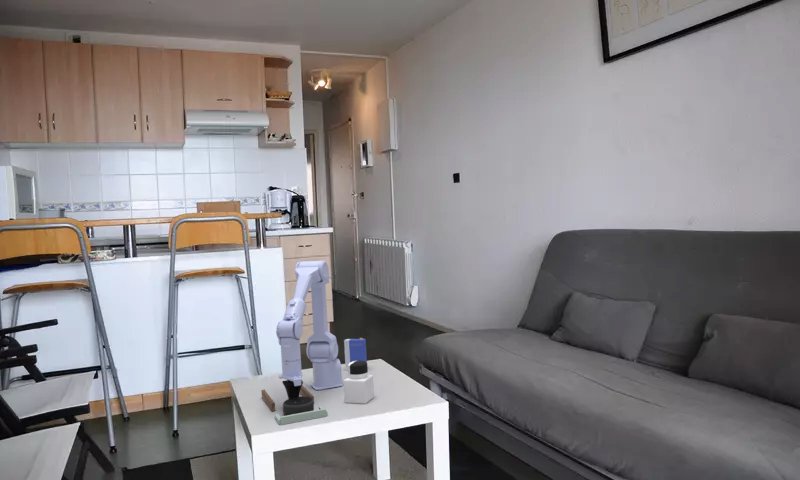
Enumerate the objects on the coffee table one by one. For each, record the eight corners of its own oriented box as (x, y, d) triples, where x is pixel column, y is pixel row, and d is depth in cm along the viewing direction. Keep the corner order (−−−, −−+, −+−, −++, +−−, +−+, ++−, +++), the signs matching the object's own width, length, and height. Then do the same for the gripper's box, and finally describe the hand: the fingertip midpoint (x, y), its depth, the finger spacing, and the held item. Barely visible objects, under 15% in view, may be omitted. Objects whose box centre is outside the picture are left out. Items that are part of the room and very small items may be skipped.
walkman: (367, 369, 215) (365, 337, 215) (365, 370, 212) (363, 339, 212) (347, 369, 217) (346, 338, 217) (345, 370, 214) (343, 339, 214)
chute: (300, 391, 190) (300, 383, 189) (314, 404, 174) (313, 396, 174) (261, 397, 184) (261, 389, 184) (271, 411, 169) (271, 403, 169)
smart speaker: (277, 417, 163) (276, 404, 163) (293, 408, 171) (293, 395, 171) (304, 419, 160) (303, 405, 160) (319, 410, 168) (318, 396, 168)
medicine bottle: (374, 397, 178) (372, 359, 178) (365, 404, 171) (363, 364, 171) (353, 396, 180) (351, 358, 180) (344, 403, 174) (342, 364, 173)
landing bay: (321, 409, 168) (321, 403, 168) (328, 416, 162) (327, 409, 162) (274, 418, 162) (274, 411, 162) (279, 425, 156) (279, 418, 156)
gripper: (273, 356, 175) (275, 400, 175) (283, 366, 162) (285, 413, 162) (295, 353, 178) (298, 396, 178) (307, 362, 165) (309, 408, 165)
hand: (293, 404), depth 170 cm, fingers closed
